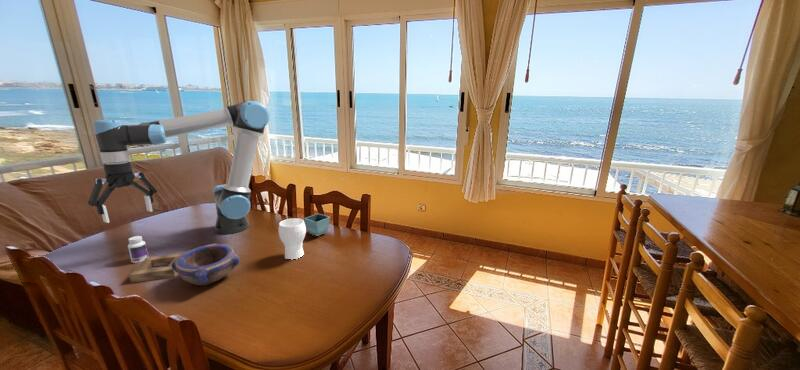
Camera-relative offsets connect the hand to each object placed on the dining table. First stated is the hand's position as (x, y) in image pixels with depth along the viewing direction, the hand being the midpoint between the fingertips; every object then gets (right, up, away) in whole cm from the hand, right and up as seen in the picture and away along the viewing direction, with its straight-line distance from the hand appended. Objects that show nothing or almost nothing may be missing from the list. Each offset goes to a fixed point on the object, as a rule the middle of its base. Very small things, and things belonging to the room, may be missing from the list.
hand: (129, 216), depth 116 cm
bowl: (+36, -22, -8) cm, 43 cm away
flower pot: (+65, -12, +30) cm, 73 cm away
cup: (+61, -18, +10) cm, 64 cm away
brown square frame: (+15, -20, -3) cm, 25 cm away
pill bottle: (0, -18, +5) cm, 19 cm away
